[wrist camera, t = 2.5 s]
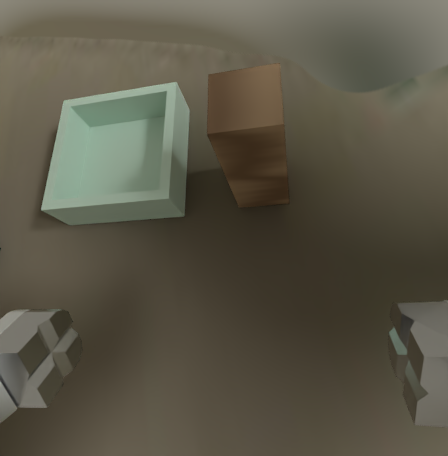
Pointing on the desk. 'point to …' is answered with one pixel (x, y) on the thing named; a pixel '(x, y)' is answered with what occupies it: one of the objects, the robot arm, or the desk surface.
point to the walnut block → (250, 133)
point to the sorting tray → (120, 157)
